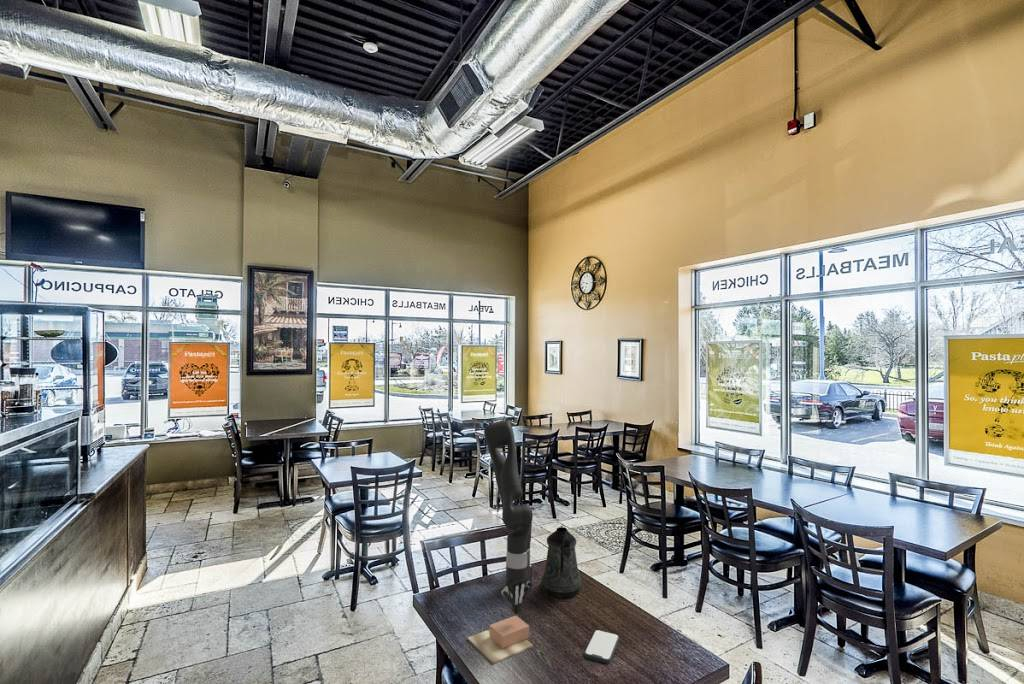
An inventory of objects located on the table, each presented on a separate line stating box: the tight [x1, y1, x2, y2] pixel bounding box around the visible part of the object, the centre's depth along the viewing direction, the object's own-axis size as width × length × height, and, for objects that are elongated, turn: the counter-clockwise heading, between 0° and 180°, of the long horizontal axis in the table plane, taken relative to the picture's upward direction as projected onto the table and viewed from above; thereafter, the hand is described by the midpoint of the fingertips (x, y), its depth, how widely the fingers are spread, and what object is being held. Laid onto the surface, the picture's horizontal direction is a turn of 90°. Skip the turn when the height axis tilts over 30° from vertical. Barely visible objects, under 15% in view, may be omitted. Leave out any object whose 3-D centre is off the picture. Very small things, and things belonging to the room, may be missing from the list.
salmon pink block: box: [489, 615, 530, 649], centre depth 168 cm, size 4×8×11 cm
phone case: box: [583, 629, 620, 664], centre depth 164 cm, size 9×2×16 cm
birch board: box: [467, 628, 534, 665], centre depth 166 cm, size 16×16×1 cm
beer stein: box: [541, 526, 582, 599], centre depth 203 cm, size 16×19×25 cm
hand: (516, 613), depth 170 cm, fingers closed
